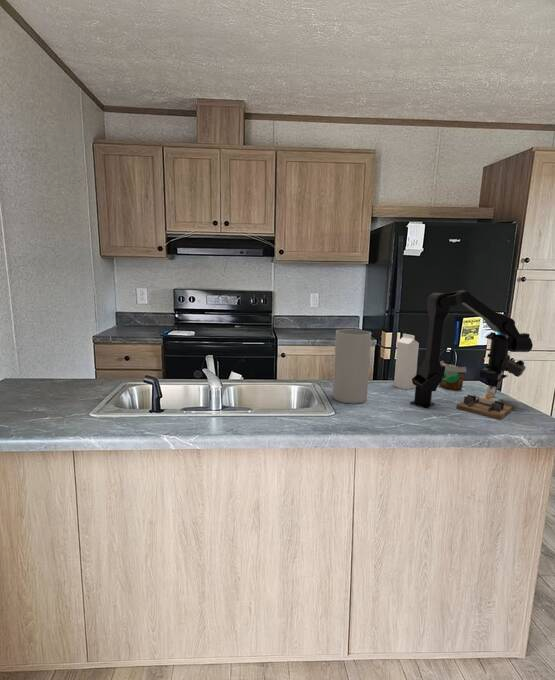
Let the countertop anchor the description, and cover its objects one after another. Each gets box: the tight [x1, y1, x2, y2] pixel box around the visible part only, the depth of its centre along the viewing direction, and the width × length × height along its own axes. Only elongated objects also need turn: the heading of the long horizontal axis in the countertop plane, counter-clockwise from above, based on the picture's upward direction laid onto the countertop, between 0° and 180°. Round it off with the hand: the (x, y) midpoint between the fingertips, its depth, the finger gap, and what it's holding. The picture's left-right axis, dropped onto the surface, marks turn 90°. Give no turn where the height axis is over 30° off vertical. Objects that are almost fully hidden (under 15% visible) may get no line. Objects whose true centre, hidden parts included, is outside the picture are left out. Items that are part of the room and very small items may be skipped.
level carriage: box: [479, 384, 500, 405], centre depth 140 cm, size 5×5×6 cm
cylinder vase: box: [332, 328, 372, 405], centre depth 144 cm, size 12×12×25 cm
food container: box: [439, 360, 467, 391], centre depth 163 cm, size 12×6×10 cm, turn 25°
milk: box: [393, 333, 420, 390], centre depth 161 cm, size 6×6×22 cm
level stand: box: [456, 394, 516, 420], centre depth 139 cm, size 16×14×4 cm
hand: (493, 393), depth 144 cm, fingers closed
